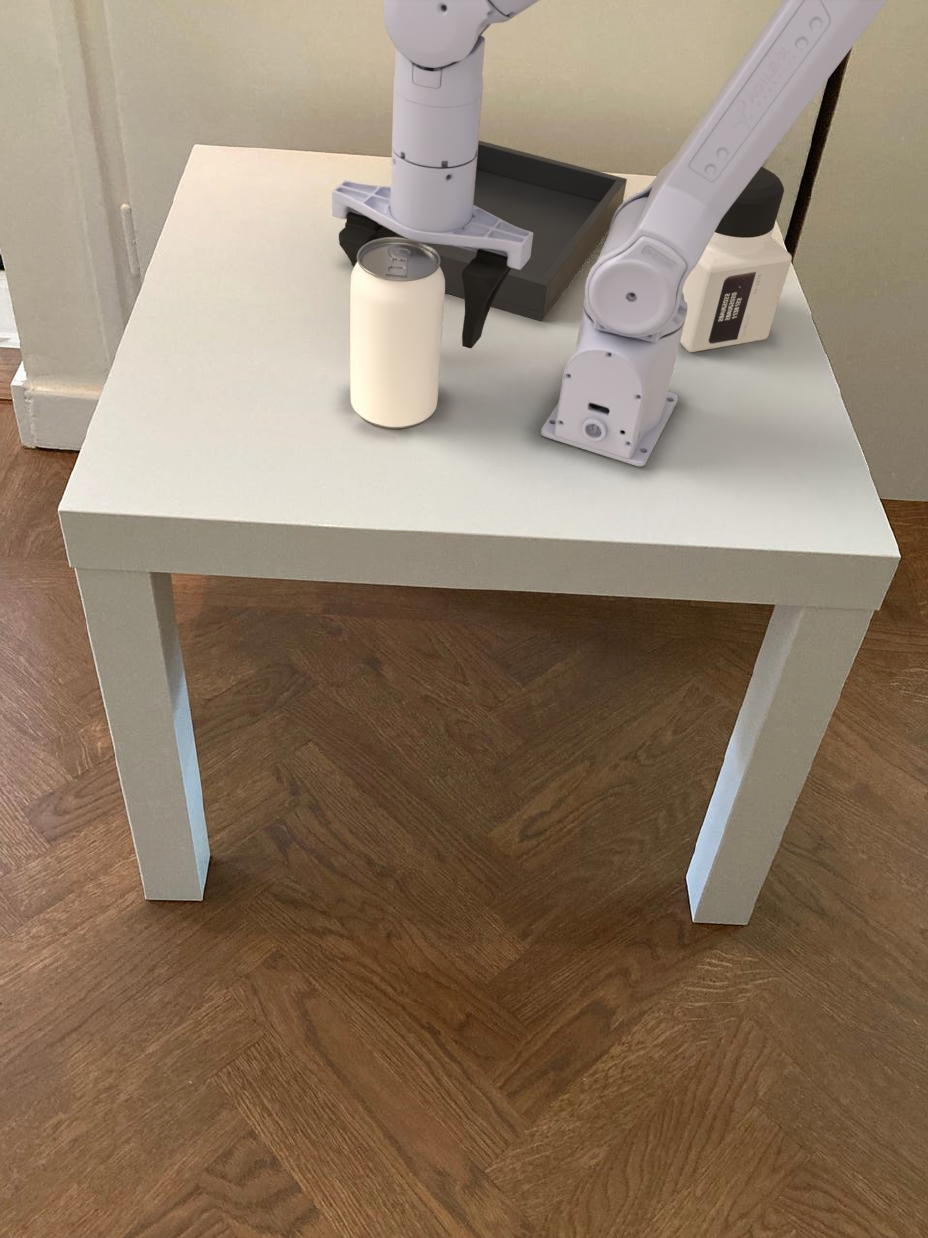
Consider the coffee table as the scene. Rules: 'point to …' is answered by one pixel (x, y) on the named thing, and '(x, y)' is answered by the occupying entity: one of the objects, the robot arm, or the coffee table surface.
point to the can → (396, 331)
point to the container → (738, 272)
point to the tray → (537, 223)
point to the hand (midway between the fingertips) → (425, 326)
